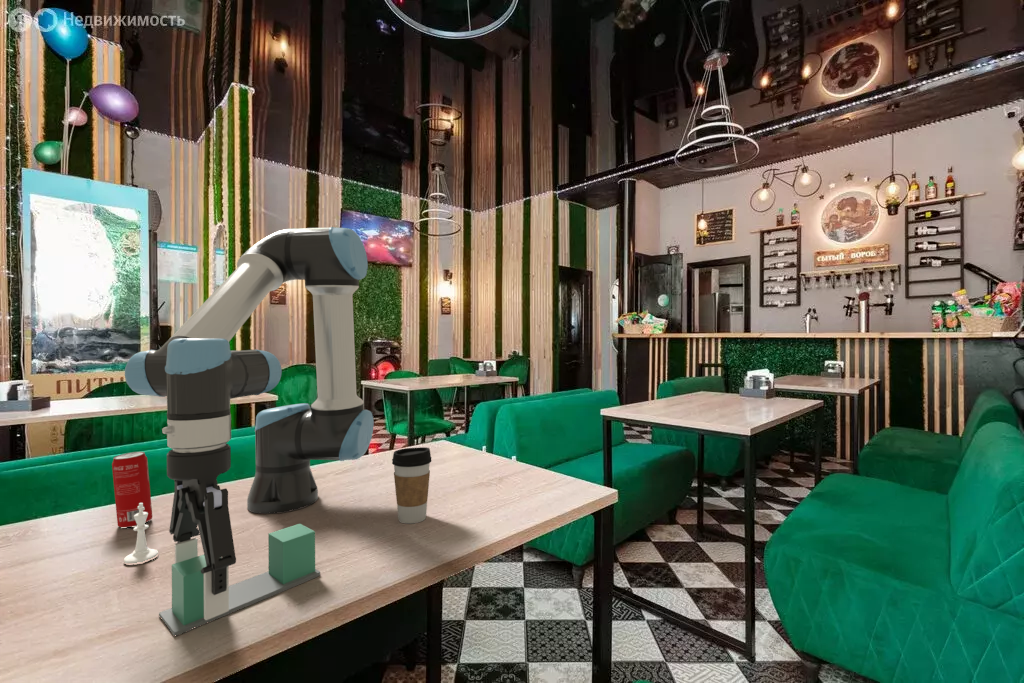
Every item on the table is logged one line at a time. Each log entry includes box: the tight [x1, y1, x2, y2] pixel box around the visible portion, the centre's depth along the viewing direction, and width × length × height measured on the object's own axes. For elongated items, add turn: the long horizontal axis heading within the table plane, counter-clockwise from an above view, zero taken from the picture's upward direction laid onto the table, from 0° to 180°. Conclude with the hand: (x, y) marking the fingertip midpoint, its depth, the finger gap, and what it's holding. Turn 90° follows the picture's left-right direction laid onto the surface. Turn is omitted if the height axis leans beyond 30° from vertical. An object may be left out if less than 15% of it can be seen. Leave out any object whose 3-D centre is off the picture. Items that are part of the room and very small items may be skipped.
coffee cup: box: [391, 446, 432, 525], centre depth 99 cm, size 8×8×15 cm
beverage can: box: [111, 451, 153, 528], centre depth 97 cm, size 6×6×15 cm
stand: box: [158, 523, 321, 637], centre depth 70 cm, size 7×20×7 cm, turn 141°
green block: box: [171, 554, 207, 625], centre depth 65 cm, size 5×5×7 cm
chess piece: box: [123, 503, 159, 563], centre depth 81 cm, size 5×5×10 cm
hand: (200, 598), depth 65 cm, fingers open, 11 cm apart
